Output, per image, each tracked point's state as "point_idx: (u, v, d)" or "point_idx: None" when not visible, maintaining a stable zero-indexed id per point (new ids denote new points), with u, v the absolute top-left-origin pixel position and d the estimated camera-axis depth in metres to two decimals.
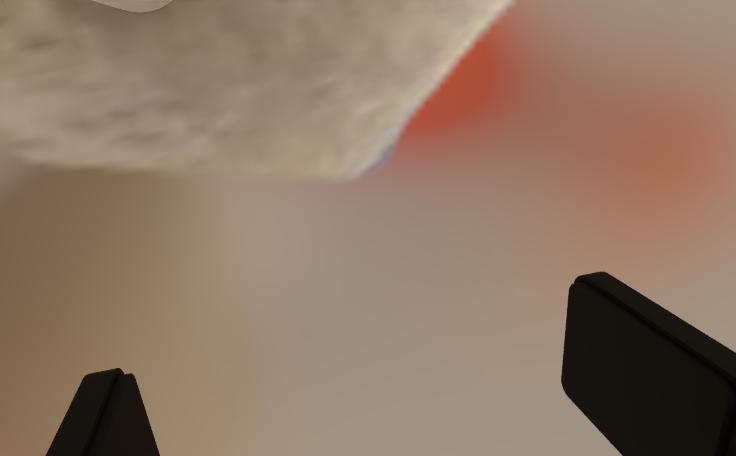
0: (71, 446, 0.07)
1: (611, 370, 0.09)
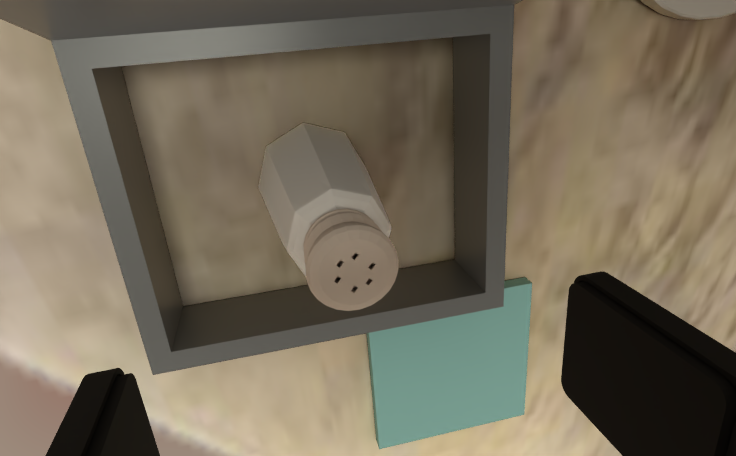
0: (71, 446, 0.07)
1: (611, 370, 0.09)
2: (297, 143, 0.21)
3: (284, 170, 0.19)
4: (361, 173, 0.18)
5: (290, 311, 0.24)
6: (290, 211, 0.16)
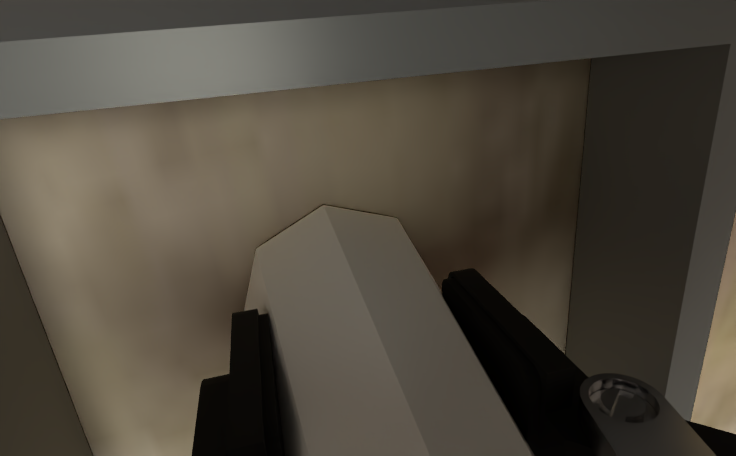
0: (248, 360, 0.08)
1: None
2: (318, 261, 0.10)
3: (295, 343, 0.09)
4: (481, 372, 0.08)
5: None
6: None
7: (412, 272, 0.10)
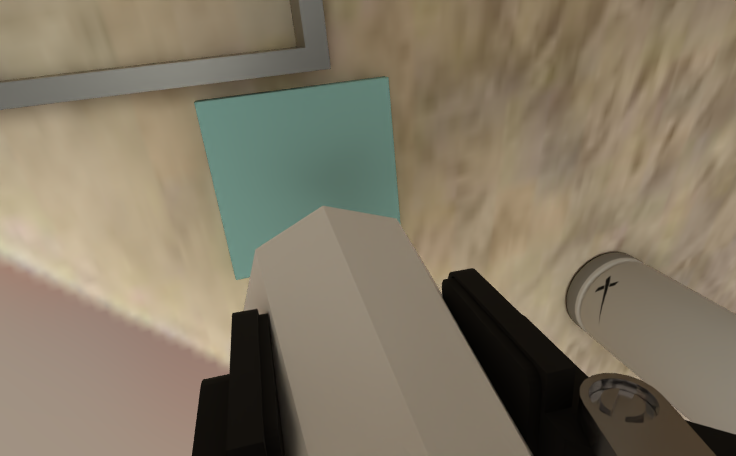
0: (248, 360, 0.08)
1: None
2: (318, 262, 0.10)
3: (294, 344, 0.09)
4: (480, 373, 0.08)
5: (82, 72, 0.21)
6: None
7: (411, 273, 0.10)
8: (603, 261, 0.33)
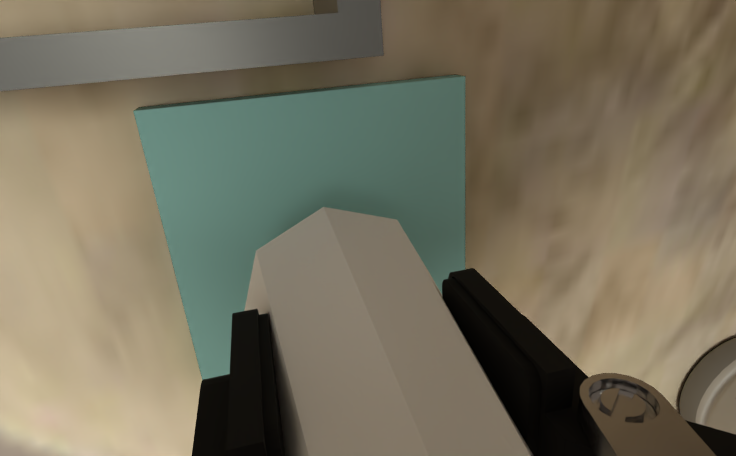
0: (248, 360, 0.08)
1: None
2: (318, 263, 0.10)
3: (296, 345, 0.09)
4: (481, 375, 0.08)
5: None
6: None
7: (412, 274, 0.10)
8: None
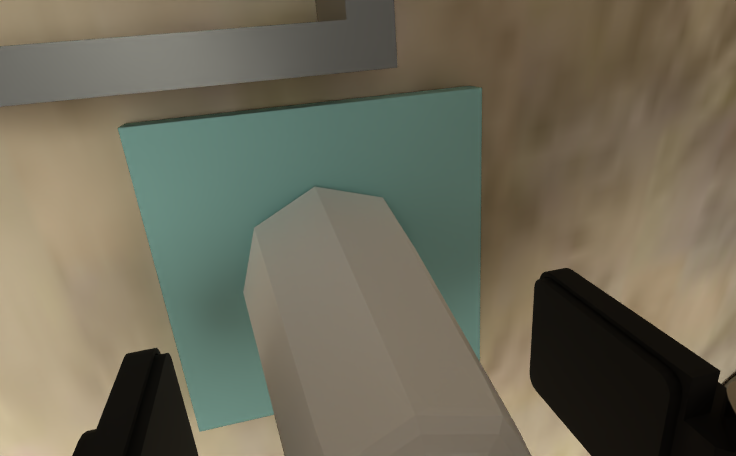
0: (121, 416, 0.07)
1: (572, 363, 0.10)
2: (310, 235, 0.12)
3: (291, 304, 0.10)
4: (450, 322, 0.09)
5: None
6: (315, 451, 0.07)
7: (394, 243, 0.12)
8: None
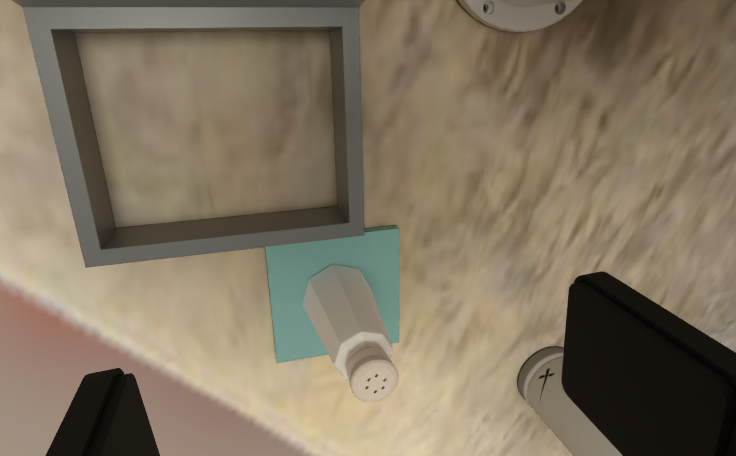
0: (71, 446, 0.07)
1: (611, 370, 0.09)
2: (332, 284, 0.34)
3: (327, 307, 0.32)
4: (374, 313, 0.31)
5: (198, 230, 0.31)
6: (336, 341, 0.29)
7: (361, 288, 0.34)
8: (546, 355, 0.44)
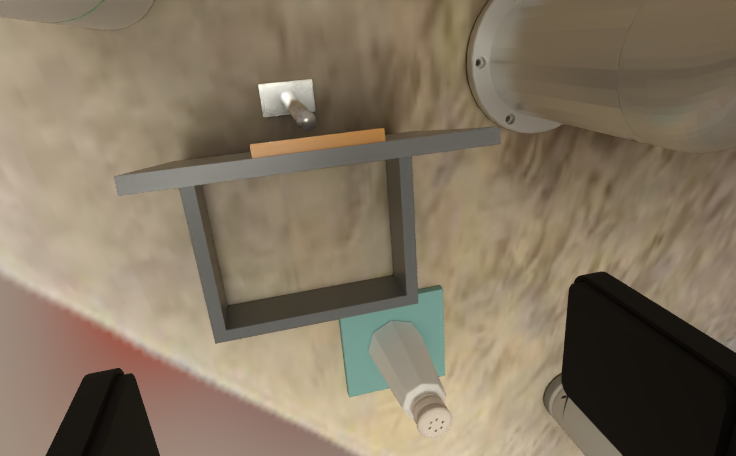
0: (71, 446, 0.07)
1: (611, 370, 0.09)
2: (393, 339, 0.43)
3: (391, 360, 0.41)
4: (429, 365, 0.40)
5: (292, 307, 0.40)
6: (403, 391, 0.38)
7: (416, 342, 0.43)
8: None
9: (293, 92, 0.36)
